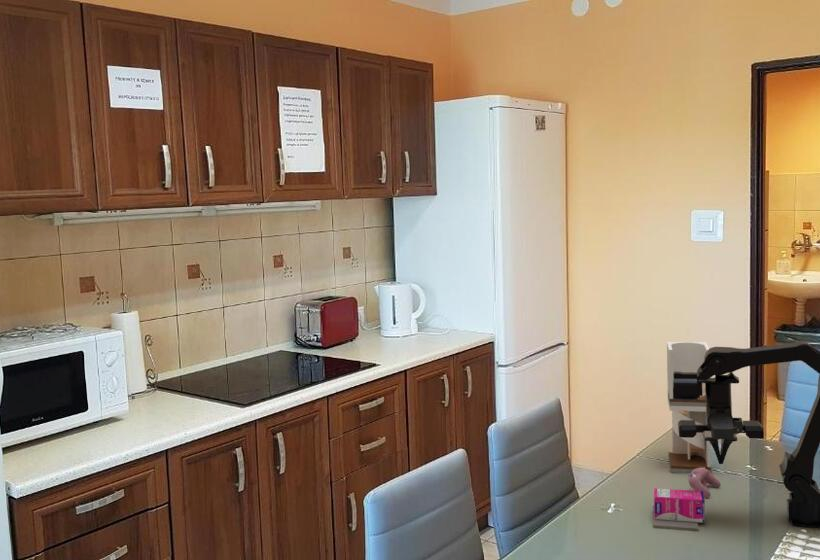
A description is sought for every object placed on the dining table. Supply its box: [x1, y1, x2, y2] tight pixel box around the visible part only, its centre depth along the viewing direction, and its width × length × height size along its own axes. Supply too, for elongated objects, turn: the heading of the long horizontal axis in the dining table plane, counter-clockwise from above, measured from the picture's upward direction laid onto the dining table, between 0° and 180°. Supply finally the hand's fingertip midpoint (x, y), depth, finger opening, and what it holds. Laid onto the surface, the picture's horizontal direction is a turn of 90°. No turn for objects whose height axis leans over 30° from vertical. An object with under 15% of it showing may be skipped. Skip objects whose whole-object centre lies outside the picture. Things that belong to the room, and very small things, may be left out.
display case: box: [666, 341, 712, 474], centre depth 218 cm, size 11×11×35 cm
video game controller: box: [687, 467, 721, 499], centre depth 201 cm, size 10×5×7 cm, turn 141°
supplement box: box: [653, 488, 706, 524], centre depth 185 cm, size 6×6×12 cm
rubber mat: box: [652, 504, 699, 532], centre depth 185 cm, size 10×12×1 cm
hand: (720, 463), depth 186 cm, fingers closed
